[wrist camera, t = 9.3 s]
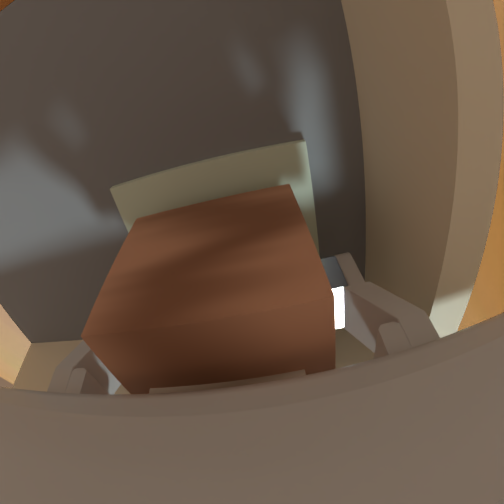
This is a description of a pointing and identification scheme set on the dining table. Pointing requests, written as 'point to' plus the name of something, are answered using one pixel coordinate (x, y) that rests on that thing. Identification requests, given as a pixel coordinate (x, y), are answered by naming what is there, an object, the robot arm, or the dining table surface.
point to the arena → (245, 141)
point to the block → (215, 298)
